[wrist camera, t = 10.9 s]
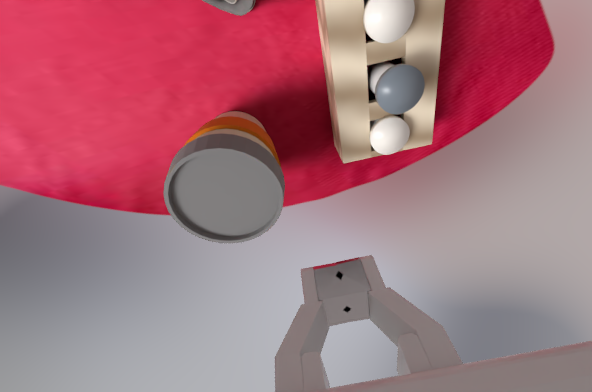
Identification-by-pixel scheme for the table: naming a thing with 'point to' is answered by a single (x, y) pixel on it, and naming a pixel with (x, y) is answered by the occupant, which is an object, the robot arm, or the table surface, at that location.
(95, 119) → the table surface
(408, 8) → the plunger near
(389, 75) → the plunger middle
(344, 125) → the wooden peg holder
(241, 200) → the reusable coffee cup
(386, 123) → the plunger far
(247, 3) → the lighter
